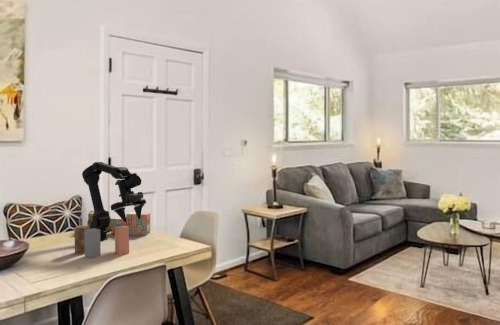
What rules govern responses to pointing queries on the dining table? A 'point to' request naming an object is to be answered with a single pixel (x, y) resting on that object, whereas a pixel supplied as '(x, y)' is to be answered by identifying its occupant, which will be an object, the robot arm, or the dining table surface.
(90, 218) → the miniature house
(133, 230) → the stack of blocks
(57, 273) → the dining table surface
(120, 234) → the terracotta block
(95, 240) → the slate grey block
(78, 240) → the walnut block
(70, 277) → the dining table surface
